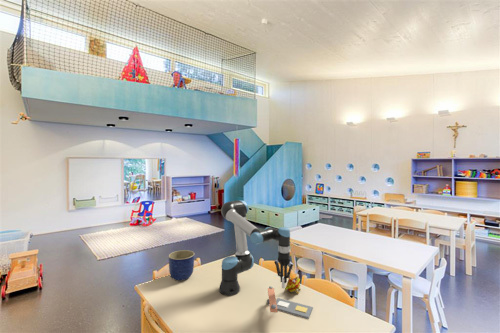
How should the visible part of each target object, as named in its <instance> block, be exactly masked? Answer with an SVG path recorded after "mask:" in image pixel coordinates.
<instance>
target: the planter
mask: <svg viewBox="0 0 500 333" xmlns="http://www.w3.org/2000/svg"><path fill="white" fill-rule="evenodd" d="M195 255H196V254H195V252H194V251H192V250H187V249H182V250H176V251H172V252H171V253H169V254H168V268H169V269H168V271H169V276H170V277H171V278H172V279H173V280H175V281H178V282H179V281H180V282H181V281H185V280H188V279H190V277H191V276H193V272H194V269H195V266H194V265H195Z"/></svg>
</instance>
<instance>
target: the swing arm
mask: <svg viewBox="0 0 500 333" xmlns="http://www.w3.org/2000/svg"><path fill="white" fill-rule="evenodd" d="M275 293H276V292H275V288H273V286H268V288H267V295H268V299H269V304H268V305H269V311H270V313H278V310H277V304H276V300H277V299H276V294H275Z"/></svg>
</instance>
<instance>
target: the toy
mask: <svg viewBox="0 0 500 333" xmlns="http://www.w3.org/2000/svg"><path fill="white" fill-rule="evenodd" d="M287 274H288V271H287ZM290 276H291V275H290ZM290 276H289V278H287V282H286V284H285V288H284V290H285V291H286V290H287V291H288V292H289V293H292V292H295V293H296V294H297V295H298V294H300V292H299V291H301V288H300V287H301V284H300V283H301V278H299V277H298V276H296V277H295V278H294V277H290Z"/></svg>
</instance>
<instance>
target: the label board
mask: <svg viewBox="0 0 500 333" xmlns="http://www.w3.org/2000/svg"><path fill="white" fill-rule="evenodd" d="M276 304H277V311H279V312H284V313H287V314H291V315H294V316H297V317H300V318H304V319H310V317H311V314H312V312H313V311H314V310H313V309H314V307H313V306H310V305H307V304H302V303H299V302H295V301H291V300H288V299H287V300H286V299H283V298H280V297H277V299H276Z"/></svg>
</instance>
